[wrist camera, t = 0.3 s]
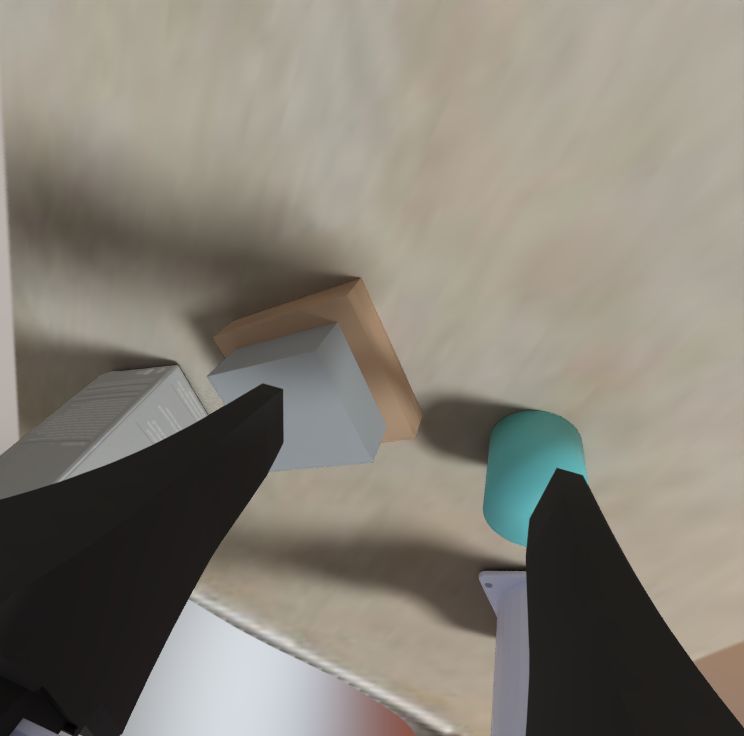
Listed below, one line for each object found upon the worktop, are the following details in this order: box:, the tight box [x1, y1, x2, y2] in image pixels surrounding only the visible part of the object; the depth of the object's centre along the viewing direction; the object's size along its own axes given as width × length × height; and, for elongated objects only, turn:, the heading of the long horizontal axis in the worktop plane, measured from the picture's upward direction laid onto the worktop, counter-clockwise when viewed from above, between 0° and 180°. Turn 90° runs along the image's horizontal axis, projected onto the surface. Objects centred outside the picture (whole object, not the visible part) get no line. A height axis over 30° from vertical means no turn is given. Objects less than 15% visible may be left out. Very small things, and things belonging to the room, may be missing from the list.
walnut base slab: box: [212, 278, 423, 443], centre depth 23 cm, size 8×8×2 cm
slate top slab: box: [207, 322, 387, 472], centre depth 21 cm, size 6×6×2 cm
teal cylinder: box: [483, 410, 589, 547], centre depth 20 cm, size 4×4×4 cm
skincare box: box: [0, 365, 208, 499], centre depth 23 cm, size 8×7×16 cm
